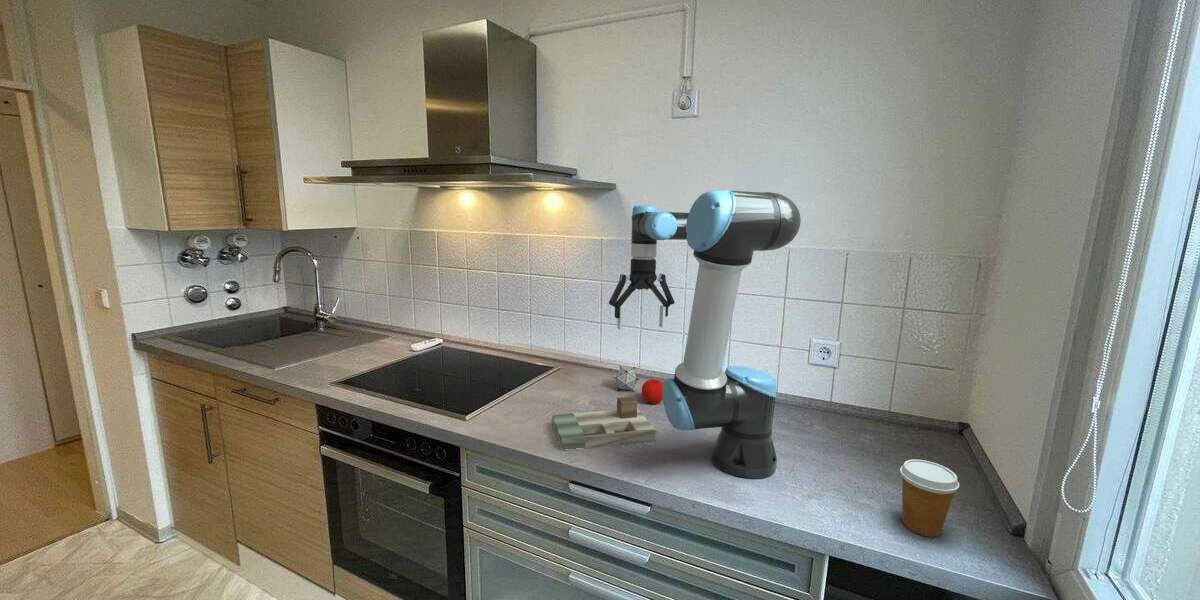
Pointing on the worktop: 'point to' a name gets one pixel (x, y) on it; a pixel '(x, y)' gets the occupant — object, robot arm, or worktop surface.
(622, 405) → the block
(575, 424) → the shape sorter board
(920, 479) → the disposable coffee cup
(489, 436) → the worktop surface
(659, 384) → the apple
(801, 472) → the worktop surface
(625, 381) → the game die
